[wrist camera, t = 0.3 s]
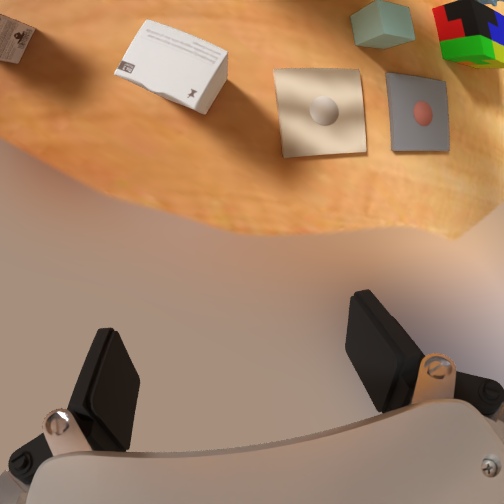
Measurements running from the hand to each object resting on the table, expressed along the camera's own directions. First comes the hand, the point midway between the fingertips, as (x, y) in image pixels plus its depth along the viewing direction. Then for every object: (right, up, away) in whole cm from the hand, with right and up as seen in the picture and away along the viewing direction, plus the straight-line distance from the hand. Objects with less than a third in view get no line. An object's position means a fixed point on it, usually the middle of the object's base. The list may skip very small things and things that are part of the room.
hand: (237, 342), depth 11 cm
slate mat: (+27, +25, +26) cm, 45 cm away
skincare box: (-8, +25, +21) cm, 34 cm away
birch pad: (+10, +22, +25) cm, 35 cm away
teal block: (+17, +35, +20) cm, 44 cm away
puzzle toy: (+37, +41, +20) cm, 59 cm away
